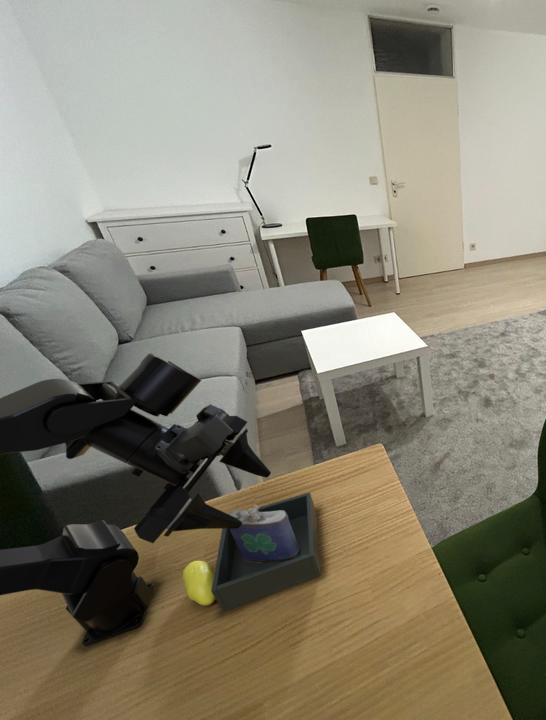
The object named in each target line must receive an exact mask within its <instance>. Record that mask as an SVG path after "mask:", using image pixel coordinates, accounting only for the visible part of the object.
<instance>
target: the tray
mask: <svg viewBox="0 0 546 720" xmlns="http://www.w3.org/2000/svg"><path fill="white" fill-rule="evenodd" d="M257 510H259V512H271V511H278V510H283V511H285V512H286V513H287V515H288V519H289V522H290V525H291V528H292V531H293V533H294V535H295V538H296V541H297V543H298V545H299V548H300V552H299V554H298V553H297V554H298V556H296V558H293V559H291V560H287V561H282V562H271V563H270V562H266V563H254V562H248V561H246V560H243V558H242V556H241V553H240V551H239V549H238V547H237V545H236V542H235V539H234V538H233V535H232V533H231V531H230V529H221V534H220V540H219V545H218V551H217V556H216V561H215V562H216V563H215V568H214V570H215V573H214V579H213V585H212V590H211V592H212V593H213V595H214V597H215V598H216V600H215V601H216V602H217V603H218V605H219V608H221V610H222V612H227V611H230V610H232V609H235V608H237V607H241V606H243V605H246V604H249V603H252V602H254V601H257V600H259V599H262V598H264V597H267V596H270V595H272V594H276V593H278V592H281V591H284V590H286V589H288V588H291V587H295V586H296V585H299V584H302V583H305V582H307V581H308V582H309V581H310V580H313V579H315V578H318V577H320V576H322V572H321V560H320V559H321V557H320V547H319V546H320V545H319V534H318V531H319V530H318V520H317V510H316V506H315V504H314V501H313V497H312V494H311V492H306V493H303V494H299V495H295V496H293V497H289V498H286V499H282V500H279V501H276V502H272V503H268V504H266V505H262V506H259V509H257Z"/></svg>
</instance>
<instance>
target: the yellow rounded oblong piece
mask: <svg viewBox="0 0 546 720" xmlns="http://www.w3.org/2000/svg"><path fill="white" fill-rule="evenodd" d="M214 573H215V568H213V567H212V565H211V564H210V563H208V562H207V561H205V560H194V561H191V562H190V563H188V564H187V565H186V567H184V569H183V572H182V581H183V584H184V587H185V591H186V595H187V597H188V598H189V599H190V600H191V601H193V602H196V603H197V604H199V605H201V606H204V607H205V606H209V605H212V604H213V603H214V602H215V601H217V600H216V598H215V597H214V595H213V593H212V592H211V590H212V585H213V579H214Z"/></svg>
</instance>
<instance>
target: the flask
mask: <svg viewBox="0 0 546 720" xmlns="http://www.w3.org/2000/svg"><path fill="white" fill-rule="evenodd" d="M253 507H254V508H252V507H250V508H248V509H246V510H245V509H235V510H233V511H230V512H229V513H228V514H229V515H231V516H233V517H235V518H237V519H238V520H240V521H241V522H242V525H241V526H240V527H239V528H237V529H230V531H231V533H232V535H233V538H234V539H235V542H236V545H237V547H238V549H239V551H240V553H241V556H242V558H243V560H246V561H248V562H254V563H266V562H270V563H271V562H282V561H287V560H291V559H293V558H296V556H298V554H299V552H300V548H299V545H298V543H297V541H296V538H295V535H294V533H293V531H292V528H291V525H290V522H289V519H288V515H287V513H286V512H285V511H283V510H278V511H271V512H259V510H257V509H259V507H260V506H259V505H258V504H254V505H253ZM297 553H298V554H297Z"/></svg>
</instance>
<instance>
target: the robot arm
mask: <svg viewBox="0 0 546 720" xmlns="http://www.w3.org/2000/svg"><path fill="white" fill-rule="evenodd" d="M201 382H202V379H201V378H199V377H198V376H196V375H194V374H192V373H191V372H189V371H188V370H186V369H184V368H182V367H180V366H179V365H177V364H176V363H173V362H172V361H170V360H168V361H167V360H165V359H163V358H161V357H159V356H157V355H155V354H154V353H152V352H151V353H148V354H147V355H146V356H145V357H144V358H143V359H142V360H141V362H140V363H139V365H138V367H136V368H135V370H133V371H132V372H131V373H130V375H129V376H128V377H127V378H126V379H125V380H124V381H123V382H122V383H121V384H120V385H119V384H117V383H116V382H115V381H114V380H106V381H93V382H80V383H79V382H78V383H76V382H75V381H72V380H68V379H64V378H49V379H44V380H40V381H37V382H35V383H33V384H30V385H28V386H25V387H23V388H21V389H19V390H16V391H14V392H11V393H9V394H7V395H4V396H3V397H0V456H1V455H6V454H13V453H14V454H16V453H24V452H34V451H39V450H43V449H47V448H51V447H55V446H57V445H58V446H59V445H62V444H65V458H66V459H67V460H72V459H76V458H78V457H81V456H83V455H85V454H86V452H87V451H88V450H90V448H92V449H94V450H96V451H99V452H100V453H103V454H104V455H107V456H109V457H111V458H114V459H116V460H118V461H120V462H122V463H124V464H127V465H128V466H131V467H133V469H132V471H131V473H130V474H131V475H134V476H135V477H139V478H140V477H141V476H142V475H143V473H145V474H148V475H150V476H152V477H154V478H156V479H159V480H161V481H162V482H165V483H166V484H165V485H164V487H163V489H164V491H163V492H162V493H161V495H160V496H159V497H158V498H157V499H156V500H155V502H154V503H153V504H152V505H151V507H150V508H149V509H148V510H147V511H146V513H145V514H144V515H143V516H142V517H141V519H140V520H139V521H138V522H137V523H136V524H135V526H134V528H133V529H134V533H135V534H136V535H137V537H138V538H139V539H141V540H143V541H145V542H149V543H150V544H154V543H155V542H156V541H157V540H158V539H159V537H160V536H161V535H162V534H163V533H164V534H163V536H164V537H169V536H171V534H172V533H173V532H182V531H193V530H211V529H212V530H214V529H215V530H216V529H217V530H218V529H219V530H220V529H221V530H222V529H237V528H239V527H240V526H241V525H242V522H241V521H240V520H238V519H237V518H235V517H233V516H231V515H229V513H226V512H224V511H222V510H220V509H218V508H215V507H214V506H212V505H209V504H208V503H206V501H205V500H204V499H203V497H202V496H201V495H200V493H199V492H198V493H197V494H196V495H195V496H194V497H193V498H191V497H190V493H189V492H191V490H192V489H193V487H195V485H196V484H197V483H198V481H199V480H200V479H201V477H202V476H203V475H204V473H205V472H206V470H208V468H209V467H210V466H211V464H212V463H213V462H214V461H215V459H216V458H217V457H220V456H222V457H221V458H220V459H219V461H218V462H219V463H222V464H224V465H227V466H229V467H232V468H235V469H238V470H241V471H244V472H246V473H249V474H252V475H254V476H258V477H262V478H267V479H268V478H269V477H270V475H271V474H272V471H270V469H269V468H268V467H267V466H266V464H264V462H263V461H262V459H260V458H259V456H258V455H257V454H256V452H254V450H253V449H252V448H251V446H250V444H249V441H248V432H249V430H248V428H247V427H246V428H245V426H246V425H247V423H248V421H247V420H245V419H244V418H242V417H240V416H238V415H229V413H227V412H226V411H225V410H224V409H223V408H221V407H218V406H216V405H214V404H212V403H211V404H208V405H205V406H204V407H202V409H201V410H200V411H199V412H198V413H197V414H196V419H197V420H196V421H195V422H194V423H193V425H191V426H189V427H186V426H183V425H181V424H176V423H173V424H172V426H170V428H169V427H167V426H164V425H163V424H162V423H159V422H158V421H155V420H153V419H151V418H149V417H147V416H145V415H144V414H142V413H140V412H138V411H136V410H134V409H133V407H135V408H136V409H138V410H140V411H142V412H144V413H147V414H149V415H151V416H153V417H157V418H159V416H164V417H168V416H169V415H170V414H171V415H172V414H173V413H174V412H175V411H176V410H177V409H178V408H179V407H180V406H181V404H182V403H183V402H184V401H185V400H186V399H187V397H188V396H190V394H191V393H192V392H193V391H194V390H195V389H196V387H197V386H198V385H199V384H200V383H201ZM244 428H245V429H244ZM243 429H244V430H243ZM242 430H243V431H242ZM200 461H201V462H200ZM199 462H200V464H199ZM190 473H191V475H190ZM188 475H190V476H189V477H188ZM139 559H140V556H139V552H138V551H137V550H136V548H135V547H134V546H133V544H132V543H131V542H130V540H129V538H128V537H127V536H126V534H125V533H124V532H123V530H122V529H120V527H118V526H117V525H115V524H107V522H106V521H105V520H103V519H101V520H99V521H96V522H92V523H87V524H86V523H85V524H82V523H81V524H79V523H70V524H66V525H64V526H63V531H62V535H60V536H58V537H56V538H54V539H51V540H50V541H47V542H44V543H42V544H38V545H29V546H22V547H14V548H13V547H12V548H5V549H0V596H5V595H11V594H15V593H16V594H17V593H21V592H27V591H34V590H35V591H37V590H38V591H45V592H50V593H57V594H61V595H62V597H63V599H64V601H65V603H66V607H65V610H66V611H67V612H68V613H69V615H70V616H71V617H72V618H73V620H75V621H76V622H77V623H78V624H79V625H80V626H81V627H82V628H83V629H84V631H85V634H84V636H83V639H82V641H81V644H82V646H84V647H87V646H88V647H89V646H90V645H93V644H96V643H98V642H101V641H104V640H107V639H110V638H112V637H114V636H119V635H121V634H125V633H126V632H129V631H132V630H134V629H138V628H140V627H141V626H142V624H143V622H144V619H145V616H146V613H147V610H148V609H149V606H150V603H151V601H152V597H153V590H154V584H153V583H151V582H150V583H147V582H146V581H145V579H144V578H143V577H142V576H141V575H140V576H137V575H136V573H135V572H134V570H135V569H136V567H137V566H138V563H139Z"/></svg>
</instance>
